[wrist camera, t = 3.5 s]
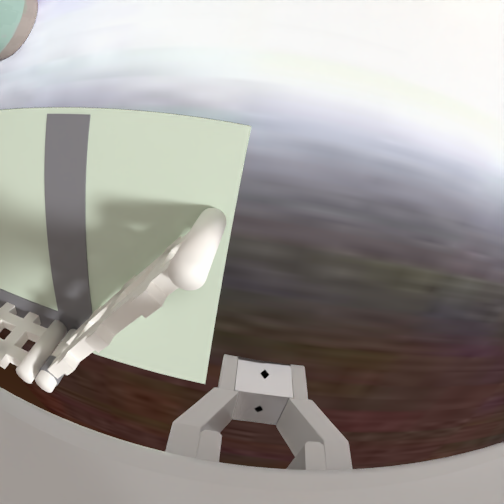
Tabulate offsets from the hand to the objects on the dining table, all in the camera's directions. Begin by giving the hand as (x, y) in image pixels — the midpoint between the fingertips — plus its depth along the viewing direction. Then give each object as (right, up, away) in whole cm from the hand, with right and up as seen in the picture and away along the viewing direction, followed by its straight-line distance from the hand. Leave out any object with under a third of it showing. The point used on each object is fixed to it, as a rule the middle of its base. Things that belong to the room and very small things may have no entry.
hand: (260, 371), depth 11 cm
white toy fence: (-9, +2, +9) cm, 13 cm away
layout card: (-14, +5, +9) cm, 17 cm away
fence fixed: (-22, -1, +12) cm, 25 cm away
